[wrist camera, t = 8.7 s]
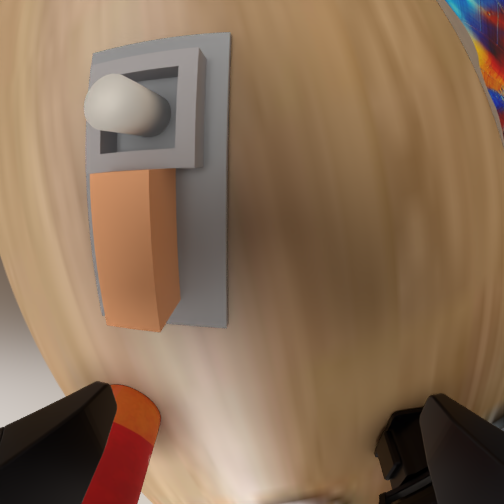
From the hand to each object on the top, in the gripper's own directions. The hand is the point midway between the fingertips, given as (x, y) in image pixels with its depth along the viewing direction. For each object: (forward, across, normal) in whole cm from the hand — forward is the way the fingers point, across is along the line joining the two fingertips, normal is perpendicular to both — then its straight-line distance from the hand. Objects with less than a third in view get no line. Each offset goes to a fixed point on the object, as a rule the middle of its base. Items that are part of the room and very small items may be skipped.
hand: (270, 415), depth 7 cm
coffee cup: (+12, +12, +14) cm, 22 cm away
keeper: (+12, +7, -5) cm, 15 cm away
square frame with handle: (+11, +7, -5) cm, 14 cm away
